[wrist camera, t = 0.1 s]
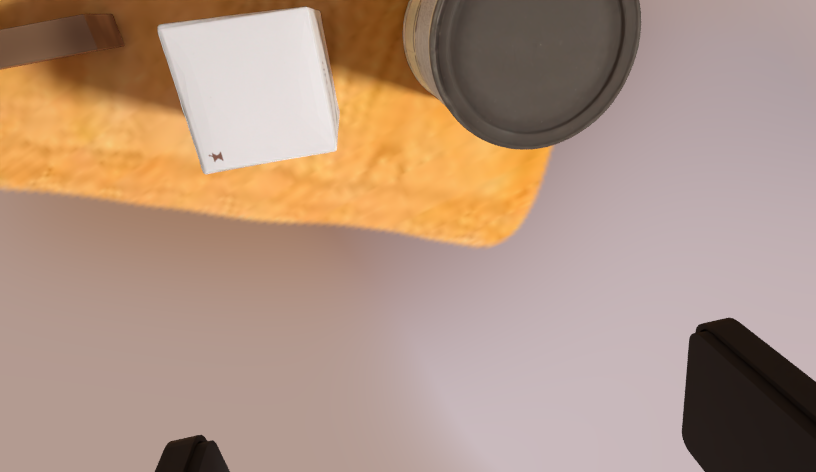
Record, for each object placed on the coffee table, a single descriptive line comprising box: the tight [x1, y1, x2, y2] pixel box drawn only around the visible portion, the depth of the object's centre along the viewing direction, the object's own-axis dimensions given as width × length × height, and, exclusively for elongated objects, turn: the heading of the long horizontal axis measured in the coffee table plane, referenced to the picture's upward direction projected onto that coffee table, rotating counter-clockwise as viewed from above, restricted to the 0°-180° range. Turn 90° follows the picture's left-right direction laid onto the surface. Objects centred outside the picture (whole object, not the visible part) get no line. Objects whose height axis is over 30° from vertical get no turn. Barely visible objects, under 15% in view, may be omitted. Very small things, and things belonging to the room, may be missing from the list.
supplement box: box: [157, 7, 340, 174], centre depth 30 cm, size 7×7×13 cm
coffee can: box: [403, 0, 641, 149], centre depth 30 cm, size 10×10×14 cm
